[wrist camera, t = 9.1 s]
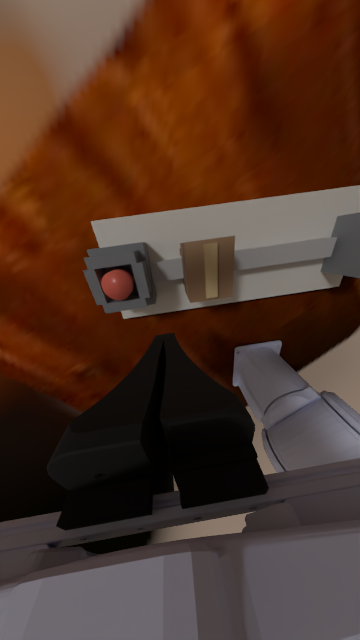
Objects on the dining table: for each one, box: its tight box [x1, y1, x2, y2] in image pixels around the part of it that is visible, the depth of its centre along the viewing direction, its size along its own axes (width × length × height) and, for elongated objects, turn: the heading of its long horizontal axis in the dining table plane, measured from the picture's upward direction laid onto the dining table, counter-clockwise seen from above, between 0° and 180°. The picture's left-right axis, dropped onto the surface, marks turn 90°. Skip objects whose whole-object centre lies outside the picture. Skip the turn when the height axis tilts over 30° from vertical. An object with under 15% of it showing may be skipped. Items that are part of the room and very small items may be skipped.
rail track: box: [83, 185, 360, 319], centre depth 16 cm, size 11×30×6 cm, turn 97°
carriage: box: [179, 236, 235, 303], centre depth 15 cm, size 5×4×6 cm
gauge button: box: [101, 267, 136, 300], centre depth 13 cm, size 2×2×2 cm
